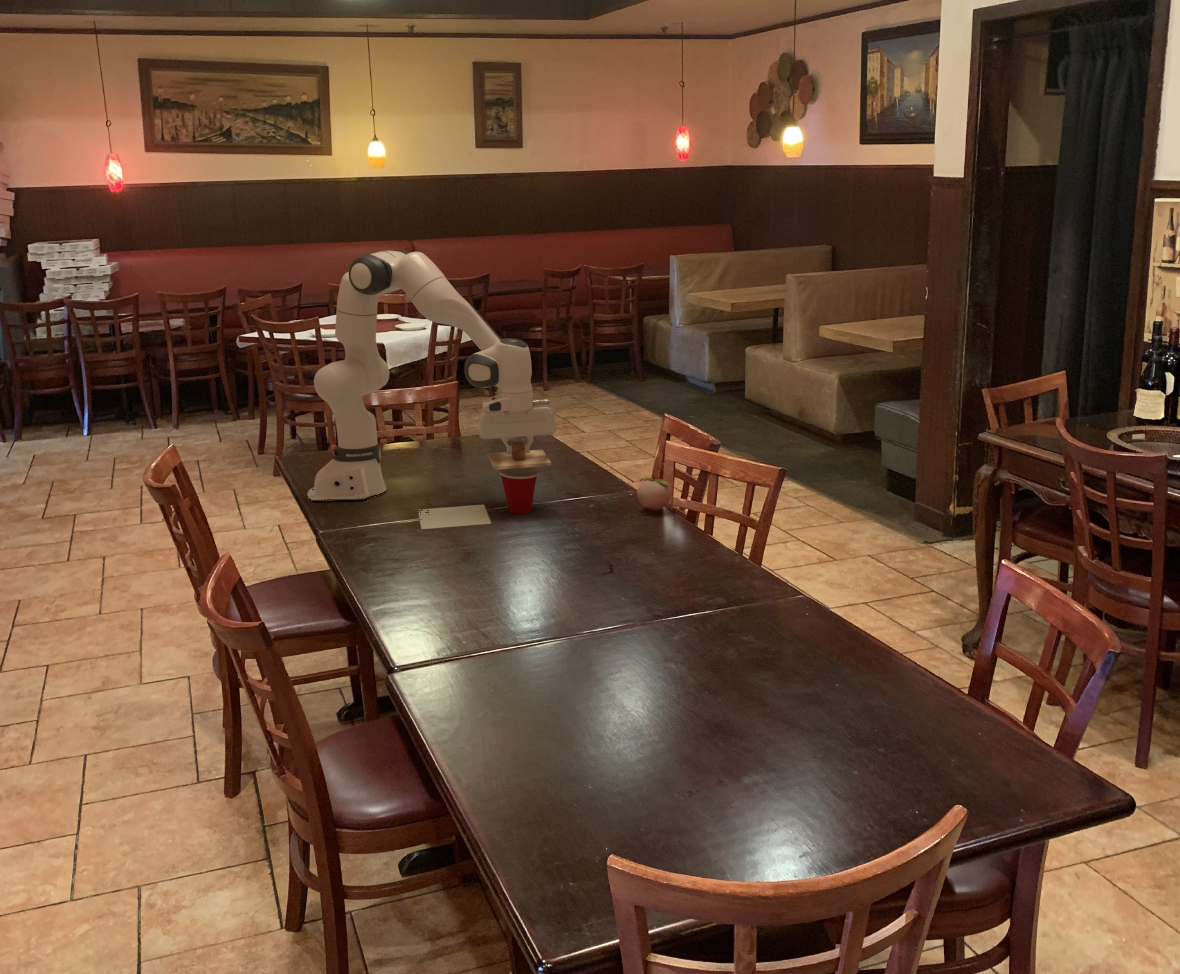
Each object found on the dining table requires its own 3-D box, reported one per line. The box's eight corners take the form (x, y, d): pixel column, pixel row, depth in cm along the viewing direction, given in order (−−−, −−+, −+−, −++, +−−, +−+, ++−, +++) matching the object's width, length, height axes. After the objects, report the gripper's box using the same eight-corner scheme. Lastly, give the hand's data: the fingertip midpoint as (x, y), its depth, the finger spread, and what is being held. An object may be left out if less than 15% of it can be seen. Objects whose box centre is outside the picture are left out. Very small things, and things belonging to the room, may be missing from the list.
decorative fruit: (631, 513, 294) (630, 477, 291) (644, 505, 301) (643, 470, 298) (663, 518, 290) (663, 481, 287) (676, 509, 297) (675, 473, 294)
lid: (493, 469, 285) (492, 451, 284) (487, 456, 299) (486, 439, 298) (551, 465, 288) (550, 447, 286) (542, 452, 302) (541, 435, 301)
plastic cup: (523, 521, 290) (521, 476, 287) (492, 514, 296) (490, 471, 293) (549, 511, 298) (547, 467, 295) (518, 504, 305) (517, 462, 302)
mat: (421, 531, 284) (421, 529, 284) (418, 511, 301) (418, 509, 301) (491, 525, 287) (491, 523, 287) (484, 506, 304) (484, 504, 304)
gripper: (553, 396, 294) (555, 447, 298) (476, 401, 290) (479, 452, 294) (557, 401, 288) (559, 452, 292) (478, 406, 285) (481, 458, 288)
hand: (518, 452), depth 293 cm, fingers closed on lid, 3 cm apart
